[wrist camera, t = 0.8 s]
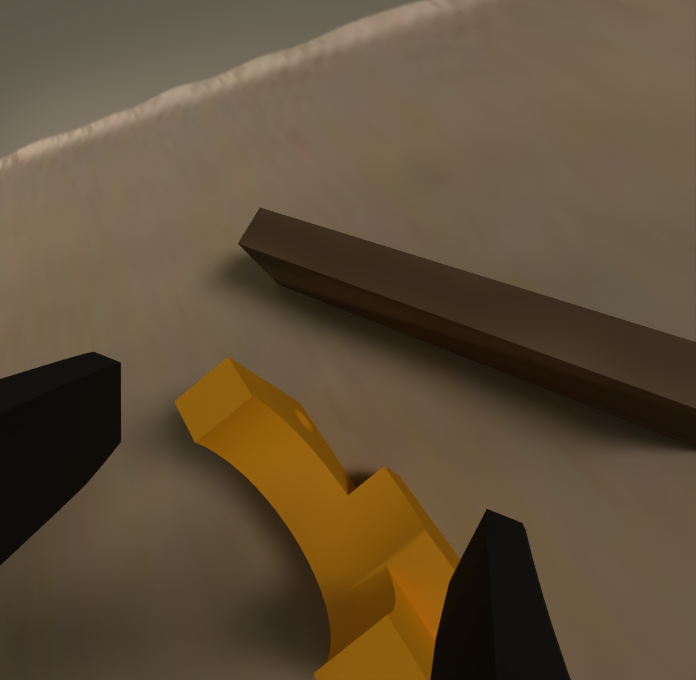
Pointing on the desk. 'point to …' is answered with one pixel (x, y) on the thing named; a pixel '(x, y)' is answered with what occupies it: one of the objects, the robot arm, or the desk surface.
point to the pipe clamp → (334, 526)
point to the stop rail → (489, 322)
